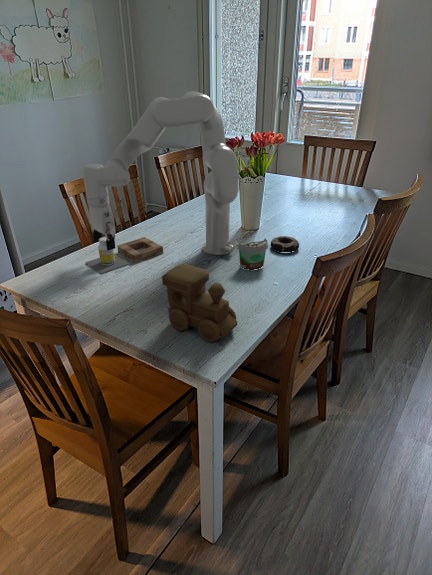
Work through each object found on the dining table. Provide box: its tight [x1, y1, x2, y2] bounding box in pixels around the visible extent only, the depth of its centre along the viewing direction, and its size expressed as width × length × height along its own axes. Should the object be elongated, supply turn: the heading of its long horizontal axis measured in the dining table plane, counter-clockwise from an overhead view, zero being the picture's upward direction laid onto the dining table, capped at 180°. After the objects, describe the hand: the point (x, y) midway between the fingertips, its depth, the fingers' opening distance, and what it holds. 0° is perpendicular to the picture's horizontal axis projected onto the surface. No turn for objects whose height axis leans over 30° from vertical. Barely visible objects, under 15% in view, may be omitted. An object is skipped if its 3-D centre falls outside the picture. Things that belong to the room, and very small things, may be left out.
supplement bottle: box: [97, 236, 115, 266], centre depth 155 cm, size 5×5×10 cm
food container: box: [237, 238, 269, 270], centre depth 153 cm, size 12×6×10 cm, turn 117°
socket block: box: [116, 237, 164, 264], centre depth 166 cm, size 13×13×3 cm
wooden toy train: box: [161, 263, 238, 343], centre depth 118 cm, size 20×11×17 cm, turn 57°
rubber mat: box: [85, 253, 130, 275], centre depth 158 cm, size 12×12×1 cm
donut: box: [270, 235, 300, 253], centre depth 170 cm, size 12×12×4 cm
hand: (104, 245), depth 154 cm, fingers open, 9 cm apart
